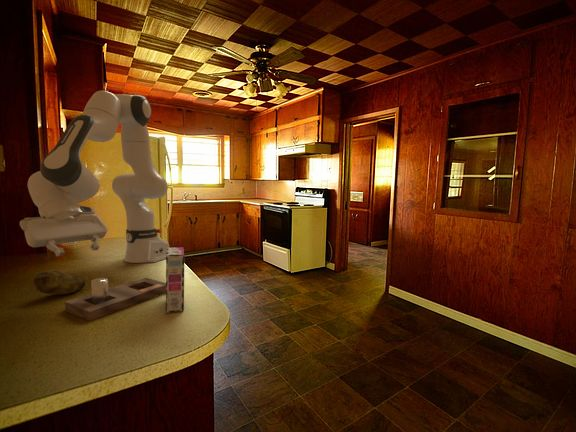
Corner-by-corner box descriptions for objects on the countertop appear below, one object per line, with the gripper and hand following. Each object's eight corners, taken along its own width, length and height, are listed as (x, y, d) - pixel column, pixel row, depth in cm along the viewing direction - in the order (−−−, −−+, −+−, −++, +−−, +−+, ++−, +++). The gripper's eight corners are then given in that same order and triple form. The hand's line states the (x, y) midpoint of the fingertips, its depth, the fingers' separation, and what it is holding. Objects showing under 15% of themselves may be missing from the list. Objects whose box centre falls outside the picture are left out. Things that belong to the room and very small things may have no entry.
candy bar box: (184, 311, 83) (184, 254, 81) (165, 313, 81) (165, 255, 79) (184, 296, 93) (183, 246, 92) (166, 298, 91) (166, 246, 90)
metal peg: (103, 303, 86) (102, 277, 85) (111, 306, 84) (111, 279, 84) (88, 308, 83) (88, 280, 82) (97, 311, 81) (96, 283, 80)
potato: (87, 293, 93) (86, 269, 92) (33, 302, 85) (32, 276, 84) (85, 286, 100) (84, 263, 99) (35, 293, 92) (33, 268, 91)
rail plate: (146, 284, 103) (146, 277, 103) (170, 291, 98) (169, 283, 97) (65, 310, 81) (64, 300, 81) (90, 320, 76) (89, 310, 75)
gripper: (20, 211, 79) (39, 251, 76) (98, 207, 97) (117, 240, 94) (13, 226, 82) (32, 265, 78) (91, 219, 100) (109, 252, 96)
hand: (79, 251), depth 86 cm, fingers open, 8 cm apart
